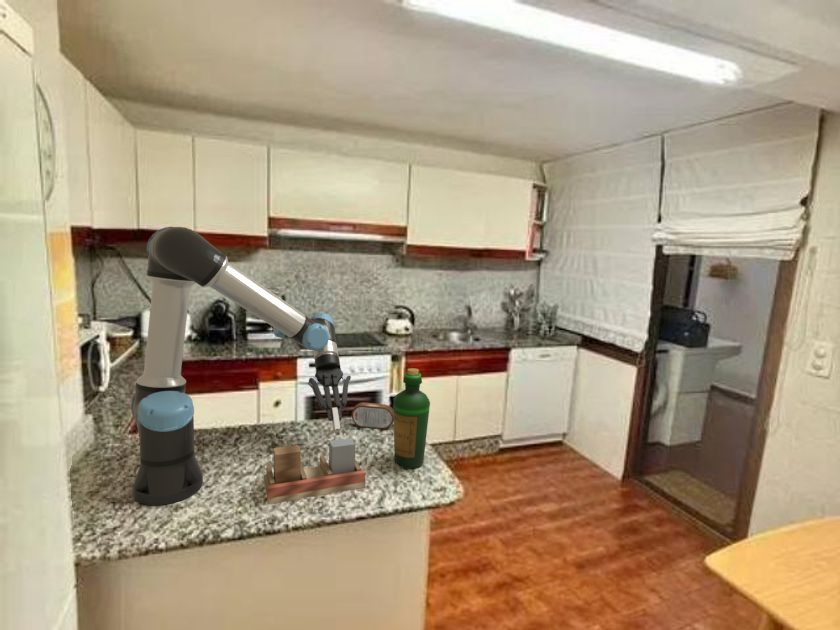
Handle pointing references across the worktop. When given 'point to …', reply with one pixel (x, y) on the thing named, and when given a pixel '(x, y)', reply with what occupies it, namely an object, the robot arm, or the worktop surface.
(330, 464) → the grey block
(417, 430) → the bottle
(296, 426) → the worktop surface
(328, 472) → the wooden compartment tray
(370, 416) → the tin
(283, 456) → the brown box
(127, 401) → the worktop surface
